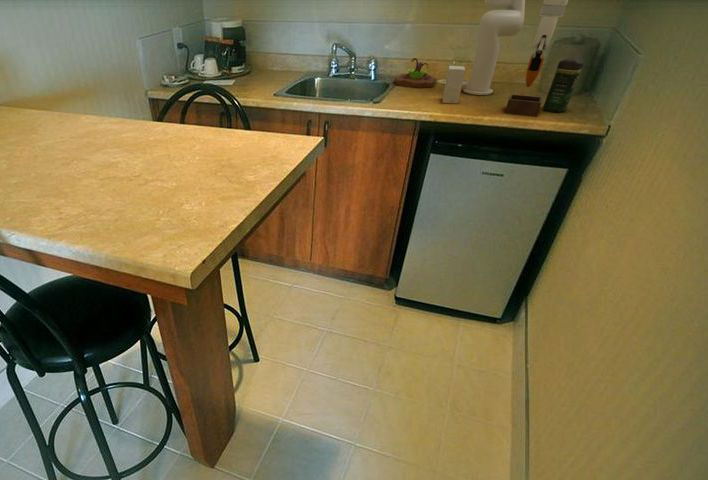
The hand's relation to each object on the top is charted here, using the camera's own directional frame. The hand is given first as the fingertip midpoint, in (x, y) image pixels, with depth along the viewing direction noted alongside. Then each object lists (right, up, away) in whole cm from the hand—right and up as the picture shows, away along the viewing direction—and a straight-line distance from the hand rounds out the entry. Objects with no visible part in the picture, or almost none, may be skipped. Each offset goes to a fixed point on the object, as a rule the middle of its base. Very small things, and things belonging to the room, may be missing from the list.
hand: (533, 68), depth 152 cm
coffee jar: (+15, -11, +11) cm, 21 cm away
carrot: (0, -5, +4) cm, 7 cm away
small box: (-23, -2, +23) cm, 32 cm away
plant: (-30, +19, +51) cm, 62 cm away
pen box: (0, -13, +9) cm, 15 cm away
